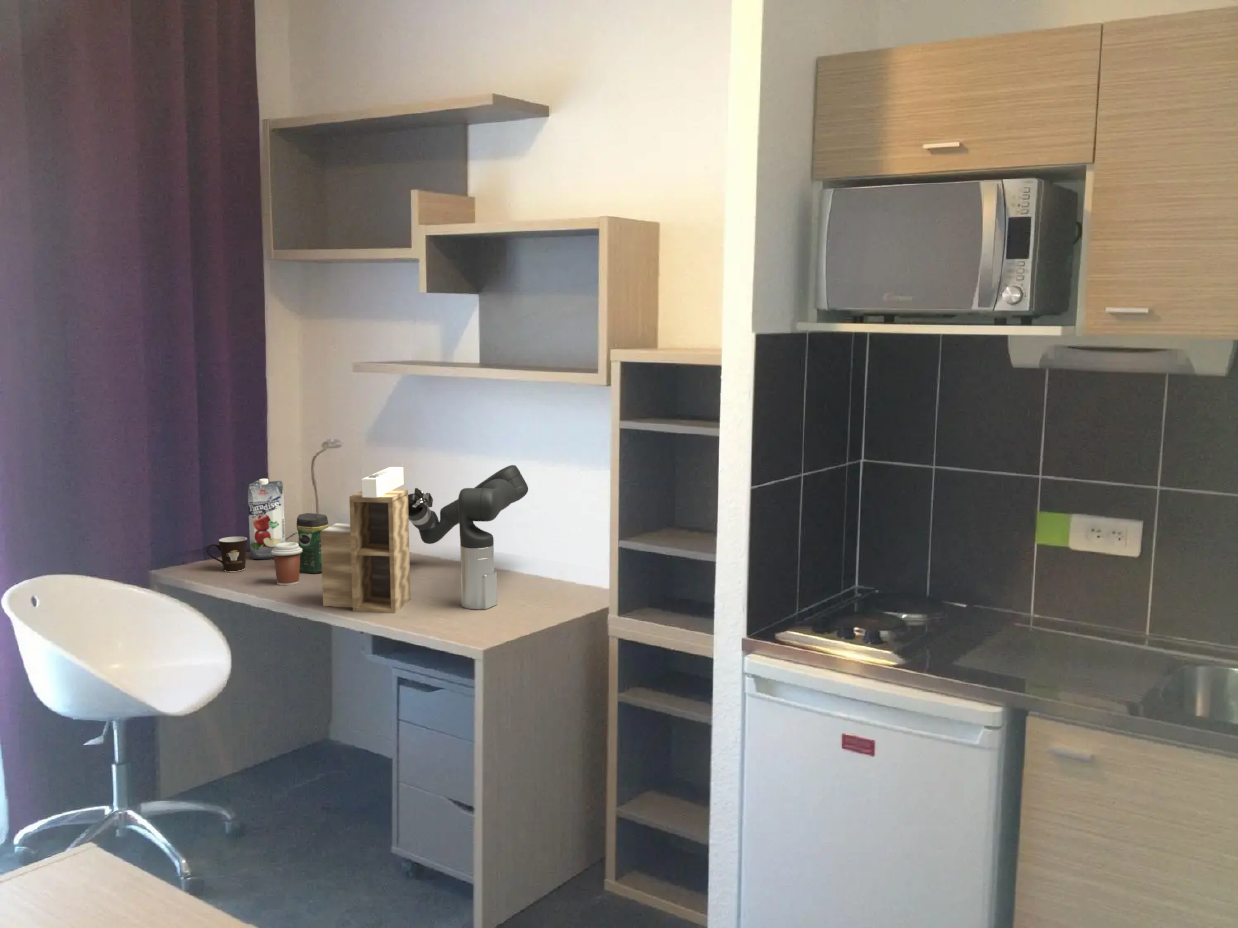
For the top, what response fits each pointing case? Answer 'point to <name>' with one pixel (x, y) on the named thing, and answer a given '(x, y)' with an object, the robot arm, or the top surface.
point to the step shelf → (368, 555)
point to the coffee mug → (232, 552)
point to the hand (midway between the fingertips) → (401, 490)
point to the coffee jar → (311, 541)
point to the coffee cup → (287, 562)
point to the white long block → (382, 482)
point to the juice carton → (265, 517)
